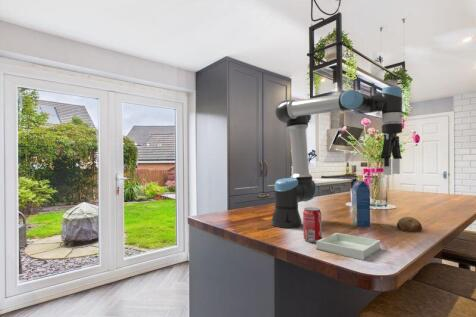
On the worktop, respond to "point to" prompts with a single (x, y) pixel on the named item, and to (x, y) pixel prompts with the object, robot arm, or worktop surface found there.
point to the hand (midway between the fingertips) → (391, 174)
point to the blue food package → (360, 203)
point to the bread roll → (409, 225)
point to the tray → (348, 245)
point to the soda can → (312, 224)
